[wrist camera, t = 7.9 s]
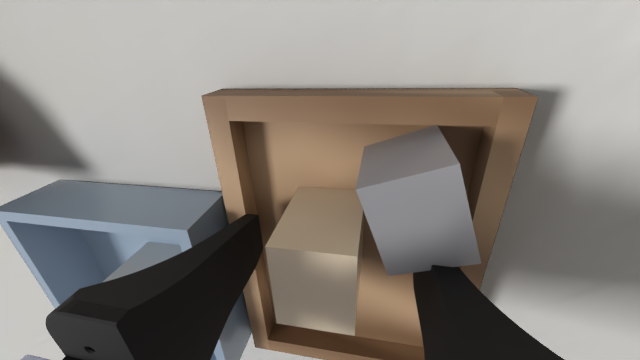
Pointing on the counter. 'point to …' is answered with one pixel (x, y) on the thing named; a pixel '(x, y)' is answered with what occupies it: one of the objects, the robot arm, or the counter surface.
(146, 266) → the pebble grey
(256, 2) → the counter surface
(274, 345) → the tray
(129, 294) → the robot arm
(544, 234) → the counter surface
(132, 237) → the dish
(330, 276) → the cream cube
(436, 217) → the matte stone cube
